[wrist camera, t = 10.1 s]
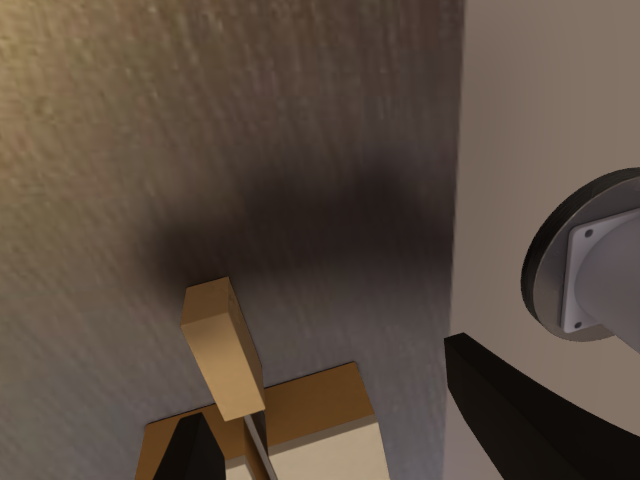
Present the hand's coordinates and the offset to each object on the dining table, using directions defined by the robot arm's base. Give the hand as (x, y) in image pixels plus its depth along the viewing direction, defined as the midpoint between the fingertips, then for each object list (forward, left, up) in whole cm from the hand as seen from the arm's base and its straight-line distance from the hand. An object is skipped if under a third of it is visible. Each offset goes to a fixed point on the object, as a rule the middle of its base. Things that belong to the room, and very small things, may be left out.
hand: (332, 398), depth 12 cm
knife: (+4, +10, -10) cm, 15 cm away
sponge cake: (+5, +15, -10) cm, 19 cm away
